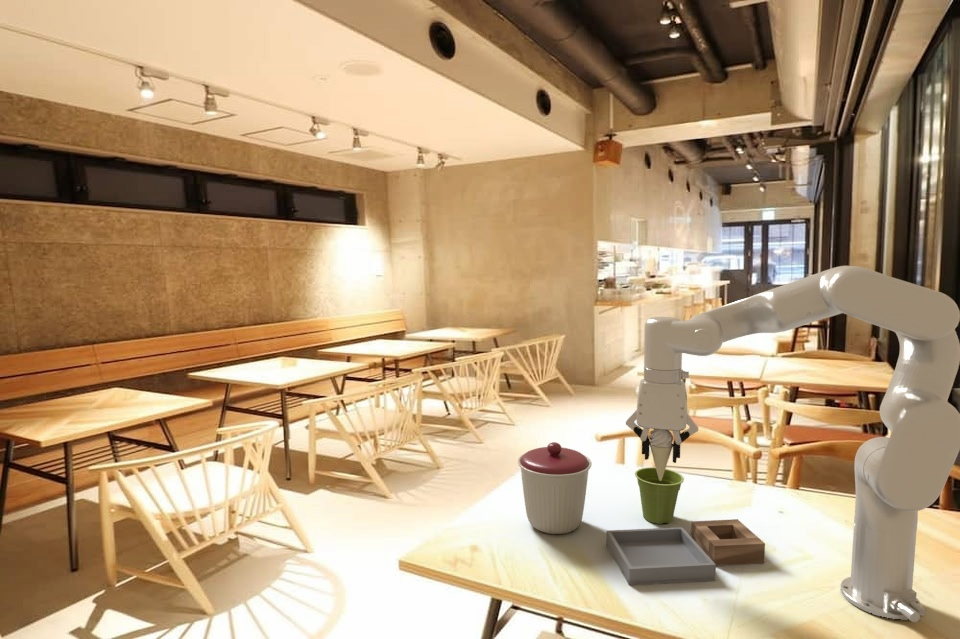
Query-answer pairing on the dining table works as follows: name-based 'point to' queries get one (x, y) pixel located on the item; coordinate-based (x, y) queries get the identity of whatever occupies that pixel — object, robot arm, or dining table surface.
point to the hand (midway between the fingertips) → (660, 458)
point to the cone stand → (728, 542)
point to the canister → (554, 487)
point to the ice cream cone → (660, 449)
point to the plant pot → (658, 494)
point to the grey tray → (659, 556)
